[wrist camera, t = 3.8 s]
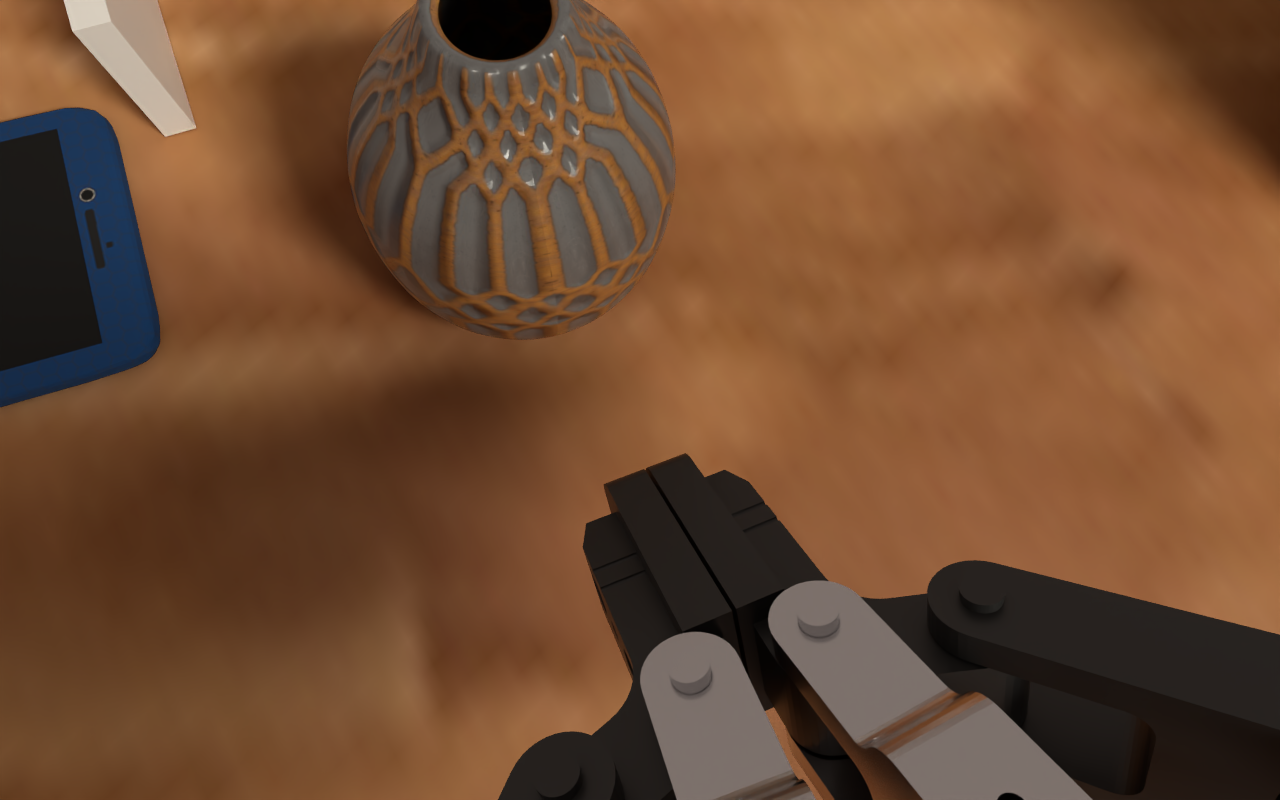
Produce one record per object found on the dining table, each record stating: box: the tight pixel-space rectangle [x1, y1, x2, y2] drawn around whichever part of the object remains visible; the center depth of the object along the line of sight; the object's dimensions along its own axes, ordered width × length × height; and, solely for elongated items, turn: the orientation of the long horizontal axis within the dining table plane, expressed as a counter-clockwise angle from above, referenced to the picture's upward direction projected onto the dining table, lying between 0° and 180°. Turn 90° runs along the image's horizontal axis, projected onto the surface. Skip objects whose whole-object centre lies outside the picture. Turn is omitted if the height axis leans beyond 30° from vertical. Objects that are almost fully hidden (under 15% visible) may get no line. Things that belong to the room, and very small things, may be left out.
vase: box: [347, 0, 676, 340], centre depth 17 cm, size 7×7×9 cm
